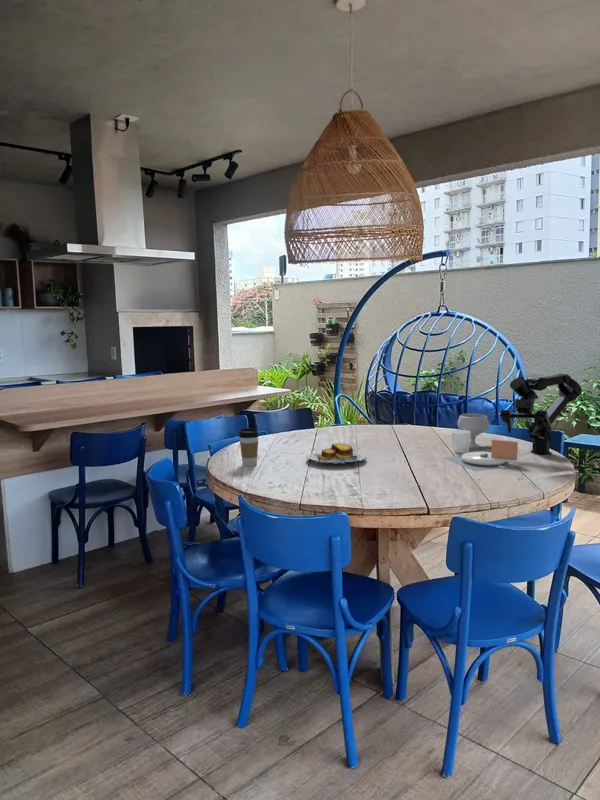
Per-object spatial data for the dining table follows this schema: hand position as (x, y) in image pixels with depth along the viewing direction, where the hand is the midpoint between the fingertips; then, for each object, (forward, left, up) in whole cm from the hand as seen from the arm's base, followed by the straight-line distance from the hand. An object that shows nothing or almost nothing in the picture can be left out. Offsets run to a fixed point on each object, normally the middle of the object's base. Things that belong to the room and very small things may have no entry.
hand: (520, 433), depth 254 cm
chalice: (+2, -31, -12) cm, 34 cm away
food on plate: (+70, -30, -13) cm, 77 cm away
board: (+16, -2, -12) cm, 20 cm away
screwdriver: (0, -19, -12) cm, 23 cm away
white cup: (+14, -22, -12) cm, 29 cm away
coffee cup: (+106, -38, -12) cm, 113 cm away
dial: (+16, -2, -11) cm, 19 cm away
